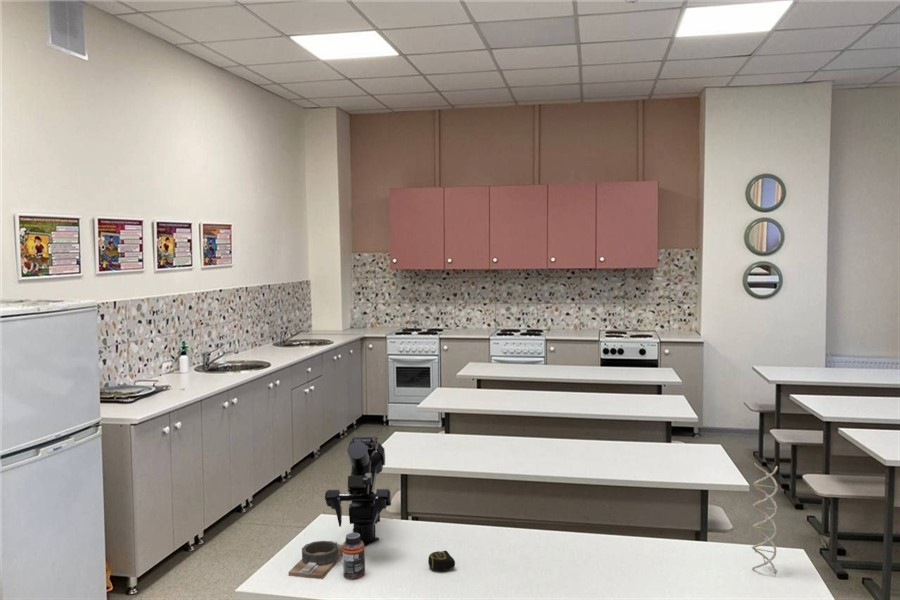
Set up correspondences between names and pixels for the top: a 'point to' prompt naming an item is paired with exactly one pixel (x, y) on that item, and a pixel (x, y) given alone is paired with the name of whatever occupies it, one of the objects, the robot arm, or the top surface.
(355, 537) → the supplement bottle
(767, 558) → the dna model
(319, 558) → the clip holder
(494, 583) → the top surface
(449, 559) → the tape measure
